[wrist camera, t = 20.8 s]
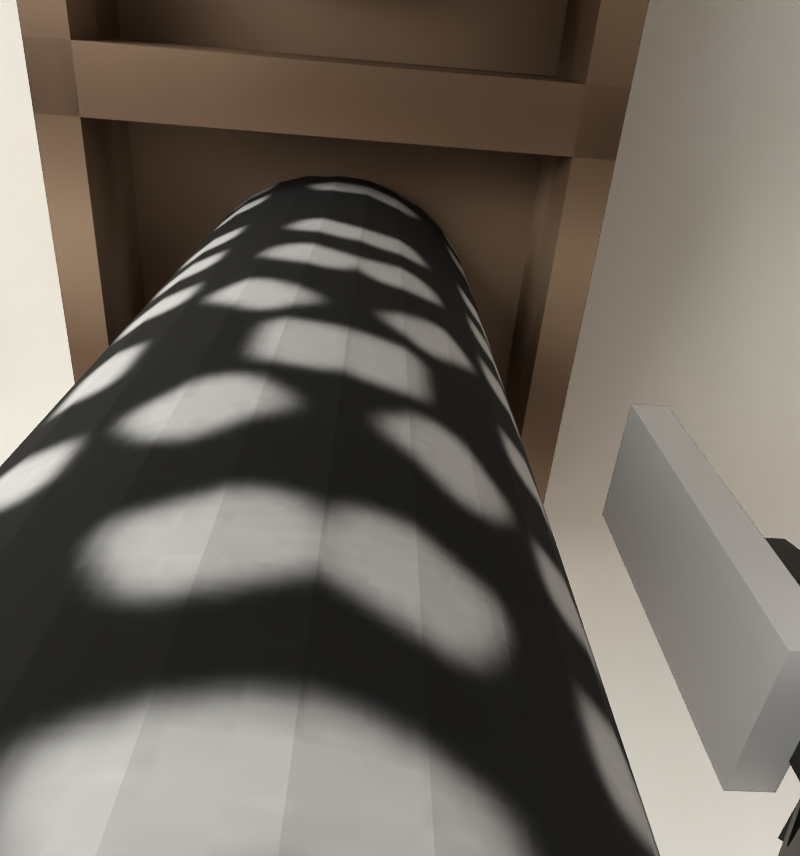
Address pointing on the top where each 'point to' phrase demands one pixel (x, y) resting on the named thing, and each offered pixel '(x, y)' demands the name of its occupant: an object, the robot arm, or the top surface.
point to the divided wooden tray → (338, 147)
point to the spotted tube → (298, 572)
